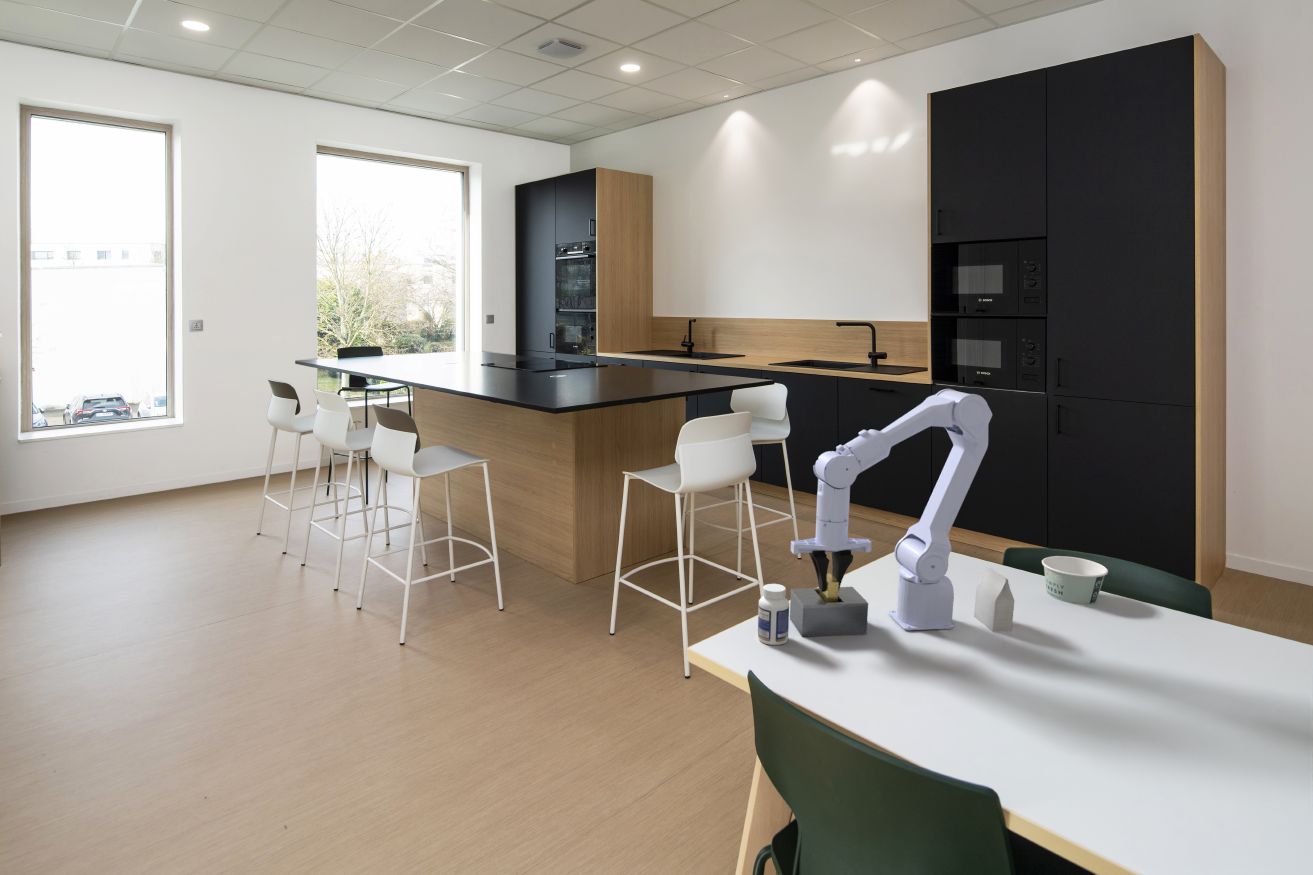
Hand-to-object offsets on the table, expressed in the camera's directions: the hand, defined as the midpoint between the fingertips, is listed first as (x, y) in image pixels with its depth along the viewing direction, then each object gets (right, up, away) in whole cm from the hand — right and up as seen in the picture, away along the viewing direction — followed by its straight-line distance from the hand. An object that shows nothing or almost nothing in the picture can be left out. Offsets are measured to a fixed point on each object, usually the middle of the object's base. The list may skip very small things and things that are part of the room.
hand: (828, 589), depth 140 cm
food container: (+54, -5, +17) cm, 57 cm away
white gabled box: (+31, -7, +3) cm, 32 cm away
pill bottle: (-11, -8, -4) cm, 14 cm away
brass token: (0, -3, +1) cm, 3 cm away
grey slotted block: (0, -7, +1) cm, 7 cm away
